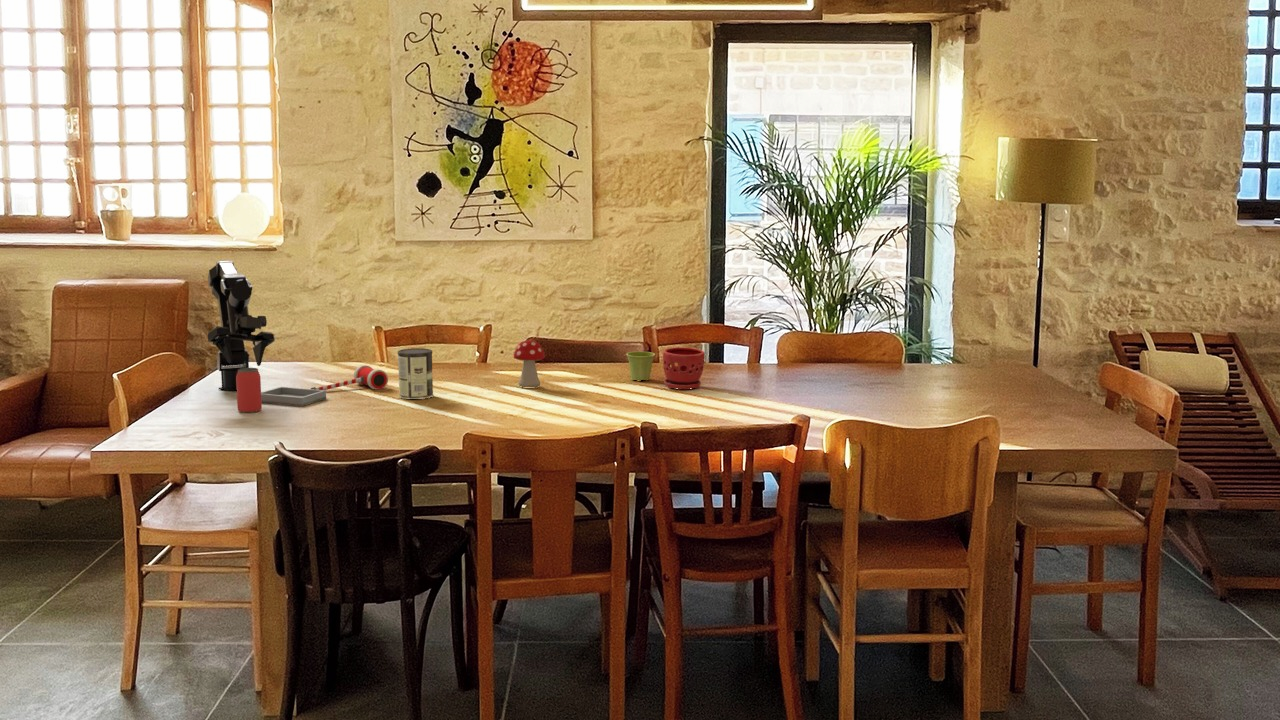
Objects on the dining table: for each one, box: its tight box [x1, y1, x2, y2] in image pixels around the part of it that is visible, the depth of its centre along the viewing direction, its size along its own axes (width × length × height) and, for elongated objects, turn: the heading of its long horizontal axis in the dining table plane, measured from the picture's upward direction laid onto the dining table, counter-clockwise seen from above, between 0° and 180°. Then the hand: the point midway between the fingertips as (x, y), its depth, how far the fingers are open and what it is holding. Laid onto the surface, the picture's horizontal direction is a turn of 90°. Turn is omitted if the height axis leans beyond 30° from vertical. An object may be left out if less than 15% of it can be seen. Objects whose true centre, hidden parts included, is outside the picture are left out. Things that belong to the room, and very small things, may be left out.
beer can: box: [236, 367, 263, 414], centre depth 363 cm, size 7×7×12 cm
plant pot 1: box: [625, 351, 656, 382], centre depth 416 cm, size 9×9×9 cm
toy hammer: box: [310, 364, 389, 391], centre depth 397 cm, size 23×12×6 cm, turn 127°
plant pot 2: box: [662, 346, 706, 389], centre depth 403 cm, size 13×13×12 cm
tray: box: [261, 386, 327, 407], centre depth 379 cm, size 16×12×2 cm
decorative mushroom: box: [513, 339, 546, 387], centre depth 401 cm, size 10×9×15 cm
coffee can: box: [397, 347, 434, 400], centre depth 385 cm, size 10×10×14 cm
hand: (245, 364), depth 371 cm, fingers open, 9 cm apart
